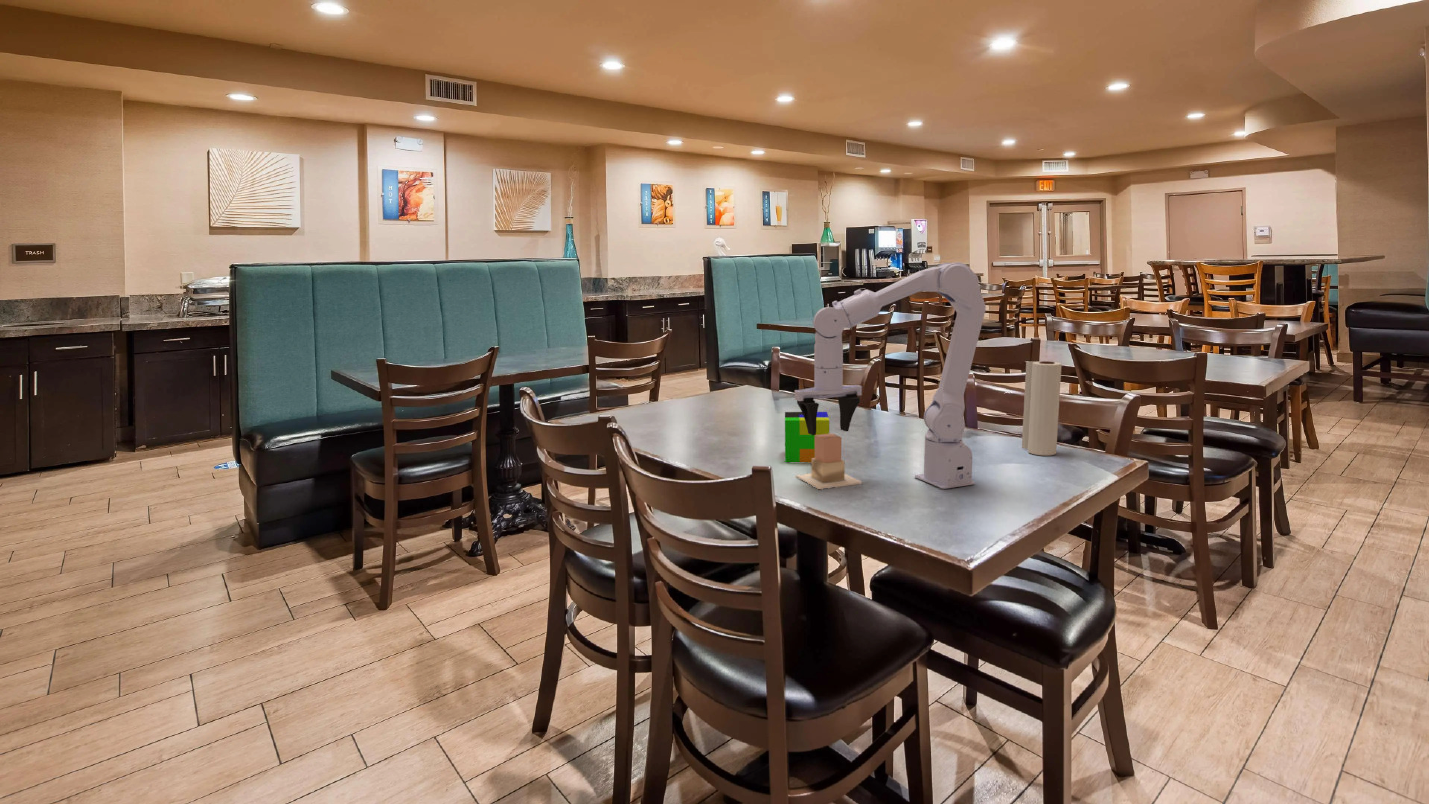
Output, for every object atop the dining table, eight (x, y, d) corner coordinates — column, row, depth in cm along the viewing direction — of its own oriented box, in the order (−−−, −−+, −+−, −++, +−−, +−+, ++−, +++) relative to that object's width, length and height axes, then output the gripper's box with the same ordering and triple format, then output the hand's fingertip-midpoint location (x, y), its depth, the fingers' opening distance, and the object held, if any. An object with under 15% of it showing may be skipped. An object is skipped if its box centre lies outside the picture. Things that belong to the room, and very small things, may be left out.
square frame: (861, 483, 150) (861, 481, 150) (818, 489, 146) (818, 487, 146) (836, 471, 159) (836, 469, 159) (795, 477, 156) (795, 475, 155)
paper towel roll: (1060, 456, 168) (1066, 363, 164) (1034, 456, 168) (1039, 364, 164) (1047, 448, 175) (1052, 359, 171) (1021, 449, 175) (1026, 360, 171)
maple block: (844, 479, 151) (844, 461, 151) (823, 482, 150) (823, 463, 149) (832, 473, 156) (832, 455, 155) (811, 476, 154) (811, 458, 153)
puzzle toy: (826, 452, 176) (827, 411, 175) (829, 463, 167) (829, 420, 165) (785, 452, 177) (784, 411, 176) (785, 463, 168) (784, 420, 166)
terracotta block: (841, 460, 151) (841, 437, 150) (824, 463, 149) (824, 439, 149) (831, 456, 155) (831, 433, 154) (814, 458, 153) (814, 435, 152)
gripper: (849, 362, 155) (848, 425, 157) (787, 367, 150) (788, 431, 152) (867, 366, 148) (866, 431, 151) (803, 371, 143) (803, 438, 146)
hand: (828, 432), depth 151 cm, fingers open, 7 cm apart
